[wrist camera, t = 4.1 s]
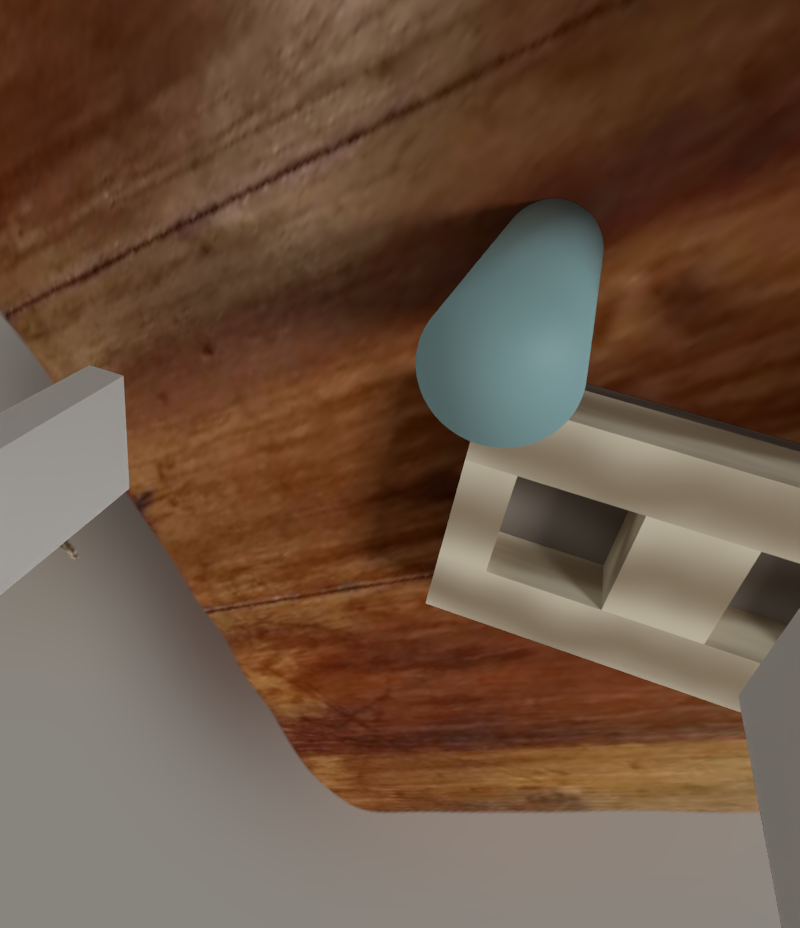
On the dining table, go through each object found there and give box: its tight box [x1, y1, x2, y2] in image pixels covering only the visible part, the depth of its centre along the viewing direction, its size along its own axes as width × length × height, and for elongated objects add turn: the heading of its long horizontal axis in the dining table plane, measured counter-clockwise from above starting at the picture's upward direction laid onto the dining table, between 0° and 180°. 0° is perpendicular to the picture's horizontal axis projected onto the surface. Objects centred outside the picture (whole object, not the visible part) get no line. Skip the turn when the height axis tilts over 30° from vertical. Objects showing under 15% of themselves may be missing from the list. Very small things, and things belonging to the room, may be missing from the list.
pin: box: [416, 199, 604, 448], centre depth 26 cm, size 5×5×16 cm
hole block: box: [426, 383, 800, 712], centre depth 36 cm, size 14×24×5 cm, turn 79°
